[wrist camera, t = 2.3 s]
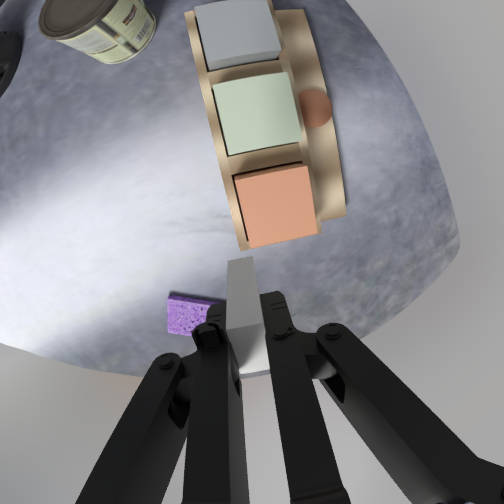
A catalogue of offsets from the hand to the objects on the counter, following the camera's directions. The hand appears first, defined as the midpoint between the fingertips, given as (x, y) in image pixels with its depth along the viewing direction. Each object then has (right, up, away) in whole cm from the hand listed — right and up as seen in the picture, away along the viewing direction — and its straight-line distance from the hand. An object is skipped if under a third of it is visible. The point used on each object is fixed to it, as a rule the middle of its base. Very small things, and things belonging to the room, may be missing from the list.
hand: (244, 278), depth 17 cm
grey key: (-1, +26, +7) cm, 27 cm away
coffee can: (-18, +32, +8) cm, 37 cm away
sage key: (+1, +17, +11) cm, 21 cm away
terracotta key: (+3, +8, +15) cm, 18 cm away
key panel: (+3, +19, +15) cm, 25 cm away
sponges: (-7, -9, +27) cm, 29 cm away
